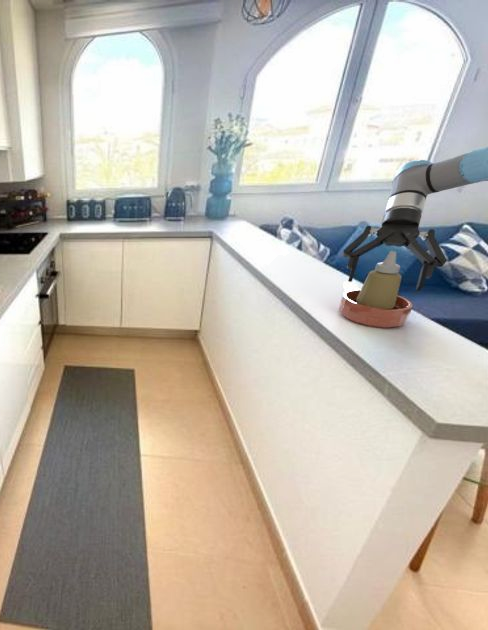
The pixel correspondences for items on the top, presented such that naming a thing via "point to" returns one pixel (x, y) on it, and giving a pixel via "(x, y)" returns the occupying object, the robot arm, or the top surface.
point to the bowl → (374, 311)
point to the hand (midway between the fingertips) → (383, 284)
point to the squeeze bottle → (381, 284)
